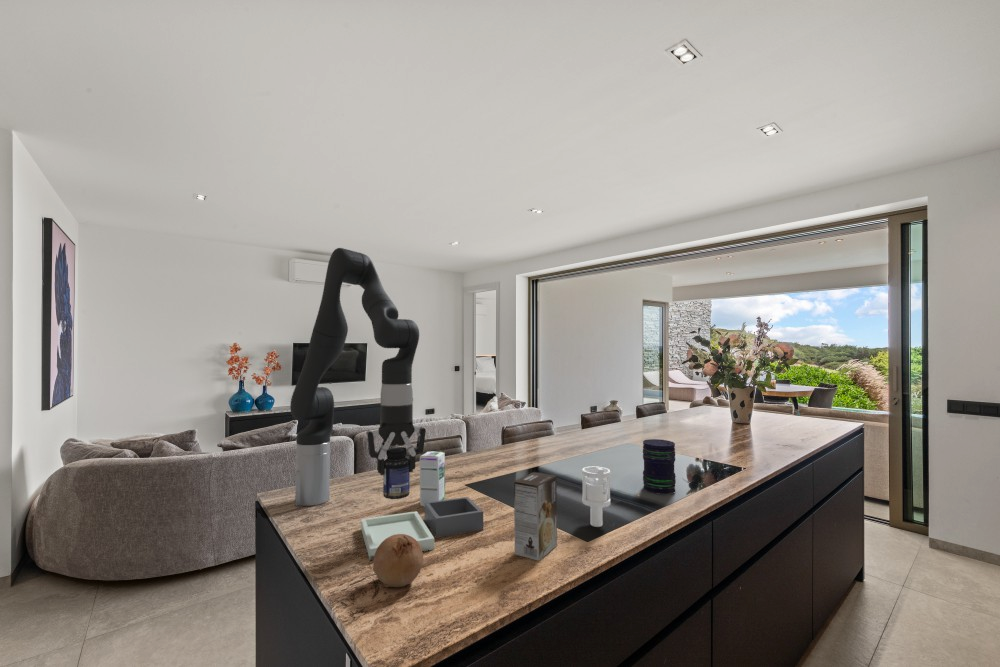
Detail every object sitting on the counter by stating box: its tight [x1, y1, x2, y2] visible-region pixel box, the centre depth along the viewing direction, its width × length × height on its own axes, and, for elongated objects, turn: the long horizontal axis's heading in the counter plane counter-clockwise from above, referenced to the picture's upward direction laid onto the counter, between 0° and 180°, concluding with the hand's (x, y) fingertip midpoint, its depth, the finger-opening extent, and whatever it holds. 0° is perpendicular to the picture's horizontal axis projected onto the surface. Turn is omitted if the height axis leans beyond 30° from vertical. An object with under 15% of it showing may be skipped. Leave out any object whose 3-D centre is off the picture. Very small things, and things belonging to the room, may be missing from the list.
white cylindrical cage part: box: [581, 465, 611, 528], centre depth 116 cm, size 7×7×15 cm
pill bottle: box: [382, 446, 411, 500], centre depth 108 cm, size 6×6×11 cm
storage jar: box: [642, 438, 677, 495], centre depth 144 cm, size 10×10×15 cm
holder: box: [423, 496, 484, 538], centre depth 116 cm, size 12×12×4 cm
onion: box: [372, 534, 424, 588], centre depth 88 cm, size 10×9×10 cm
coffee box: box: [513, 472, 558, 562], centre depth 102 cm, size 9×6×16 cm
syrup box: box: [419, 450, 446, 507], centre depth 131 cm, size 6×6×14 cm
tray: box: [360, 511, 435, 562], centre depth 107 cm, size 14×18×2 cm
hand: (396, 472), depth 108 cm, fingers closed on pill bottle, 6 cm apart
